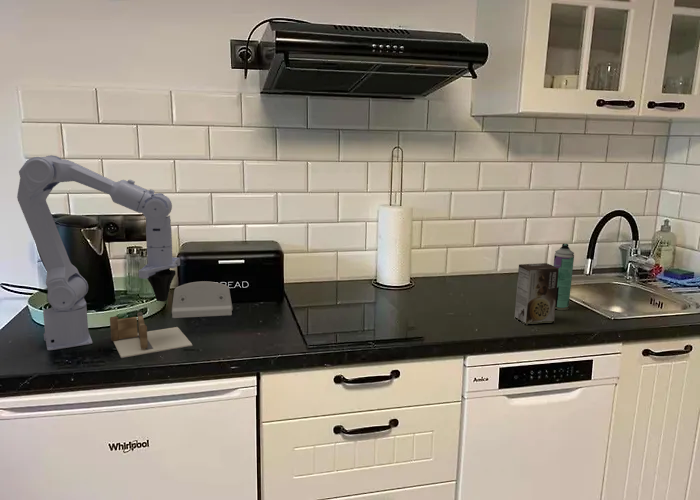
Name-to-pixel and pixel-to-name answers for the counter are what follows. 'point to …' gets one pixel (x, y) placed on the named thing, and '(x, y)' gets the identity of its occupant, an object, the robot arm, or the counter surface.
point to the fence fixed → (123, 328)
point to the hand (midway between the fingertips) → (161, 300)
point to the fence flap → (142, 331)
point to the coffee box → (536, 292)
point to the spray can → (563, 275)
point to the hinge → (201, 300)
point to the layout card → (153, 342)
